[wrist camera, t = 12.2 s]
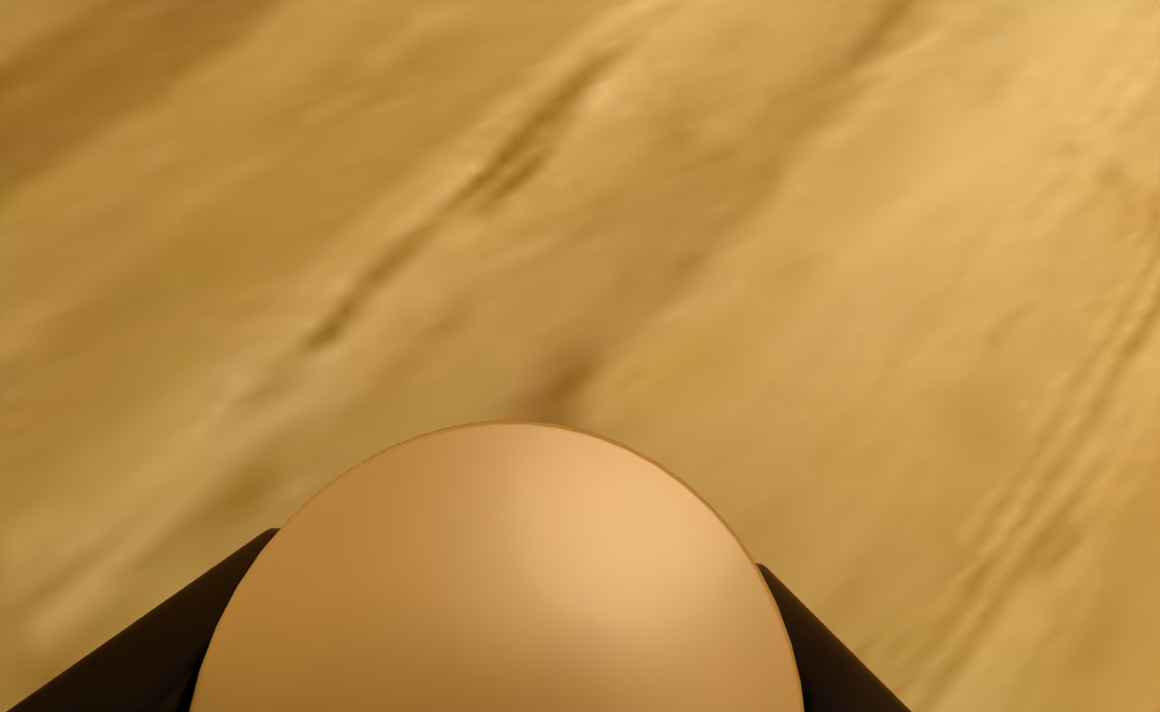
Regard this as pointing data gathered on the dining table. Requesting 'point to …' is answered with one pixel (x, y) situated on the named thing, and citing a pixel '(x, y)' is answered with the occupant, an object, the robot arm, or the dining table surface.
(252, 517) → the dining table surface
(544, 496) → the tea canister
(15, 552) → the dining table surface
